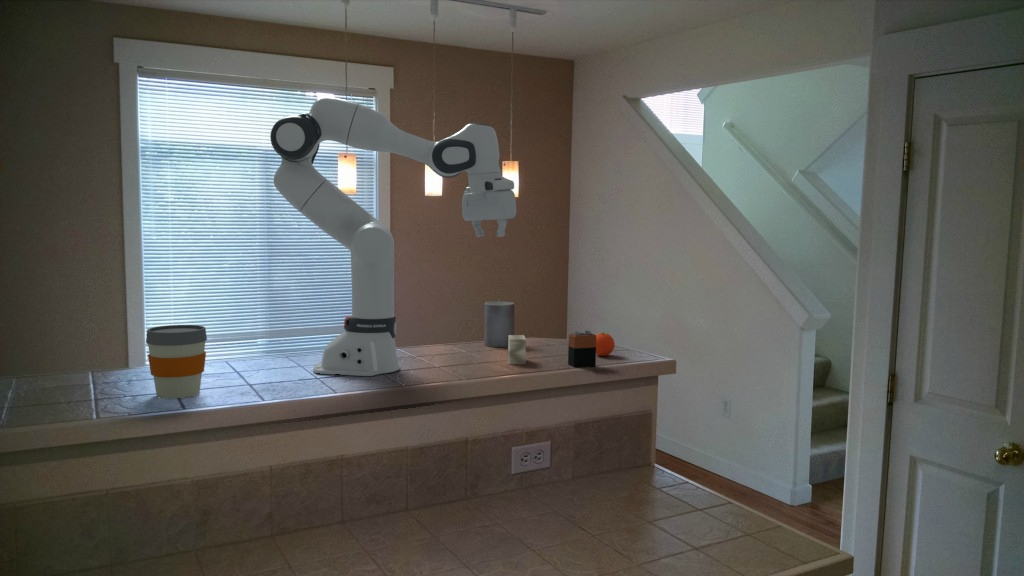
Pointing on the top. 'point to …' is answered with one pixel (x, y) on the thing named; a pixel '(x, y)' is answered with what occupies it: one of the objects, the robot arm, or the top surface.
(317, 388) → the top surface
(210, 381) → the top surface
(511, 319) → the pillar candle
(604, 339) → the clementine
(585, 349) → the battery
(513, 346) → the block
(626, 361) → the top surface
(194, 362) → the reusable coffee cup
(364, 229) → the robot arm
